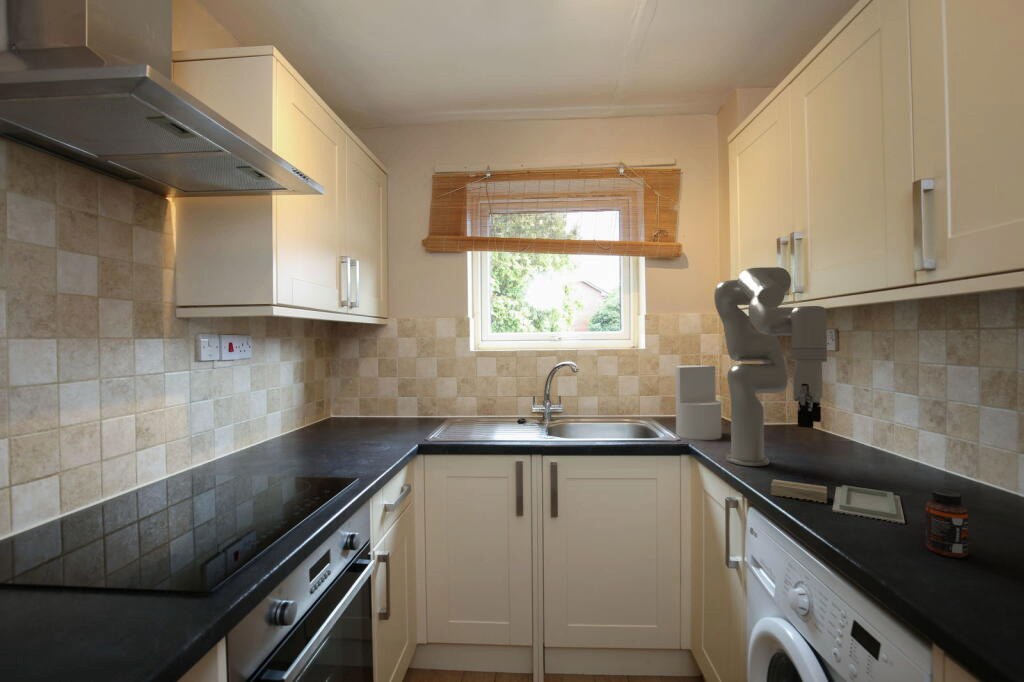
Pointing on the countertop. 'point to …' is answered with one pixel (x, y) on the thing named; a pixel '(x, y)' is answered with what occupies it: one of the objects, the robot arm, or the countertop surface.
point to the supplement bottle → (947, 524)
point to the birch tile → (799, 490)
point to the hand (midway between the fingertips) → (809, 424)
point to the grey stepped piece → (697, 403)
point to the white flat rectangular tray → (868, 503)
